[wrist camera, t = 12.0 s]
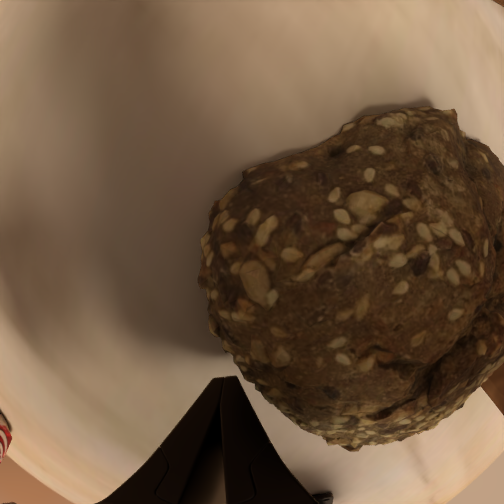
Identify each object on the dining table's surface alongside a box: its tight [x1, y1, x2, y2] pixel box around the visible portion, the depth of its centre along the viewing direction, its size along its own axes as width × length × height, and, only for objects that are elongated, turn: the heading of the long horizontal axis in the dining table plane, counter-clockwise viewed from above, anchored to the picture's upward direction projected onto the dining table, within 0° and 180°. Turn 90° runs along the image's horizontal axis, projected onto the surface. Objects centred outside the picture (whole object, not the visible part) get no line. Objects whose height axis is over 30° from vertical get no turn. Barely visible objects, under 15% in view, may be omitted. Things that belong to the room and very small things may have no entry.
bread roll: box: [198, 106, 504, 452], centre depth 7 cm, size 13×12×5 cm
